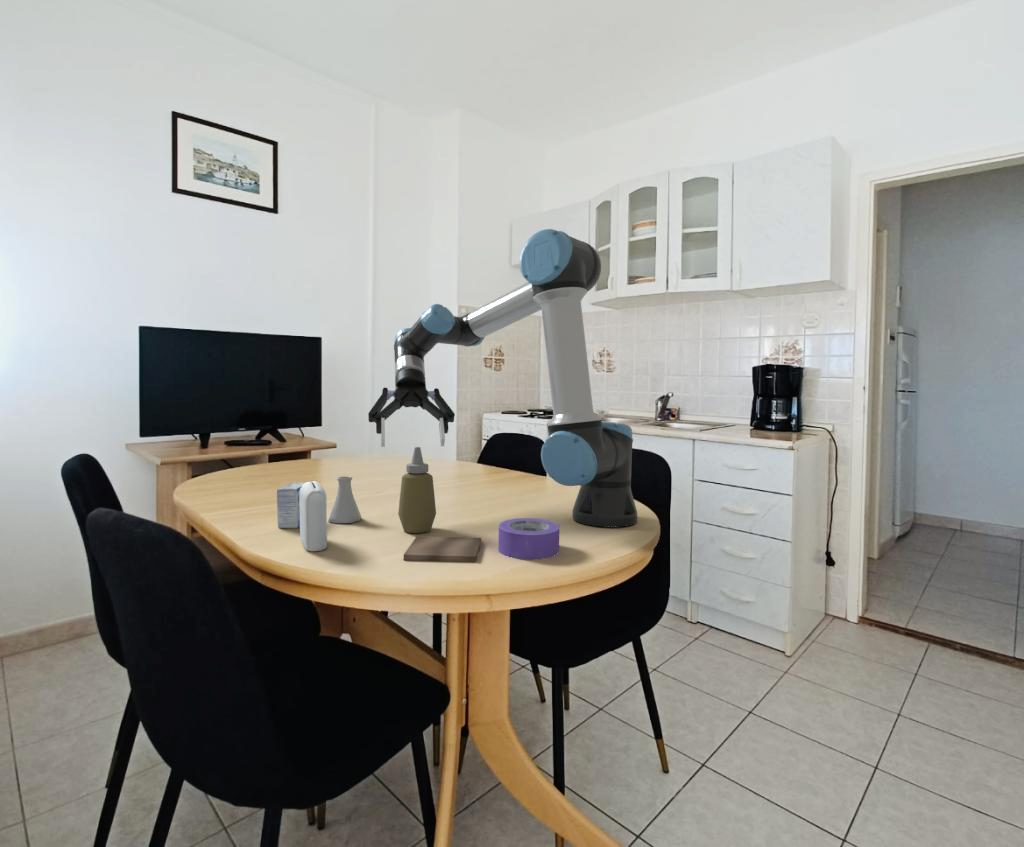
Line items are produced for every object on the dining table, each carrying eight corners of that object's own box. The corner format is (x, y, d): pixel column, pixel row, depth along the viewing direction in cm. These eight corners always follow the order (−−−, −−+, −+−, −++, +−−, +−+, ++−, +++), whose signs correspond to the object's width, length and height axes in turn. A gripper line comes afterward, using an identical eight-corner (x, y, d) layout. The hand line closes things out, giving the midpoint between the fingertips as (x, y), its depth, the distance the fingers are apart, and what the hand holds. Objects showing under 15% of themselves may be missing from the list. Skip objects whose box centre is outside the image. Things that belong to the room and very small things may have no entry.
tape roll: (556, 562, 101) (556, 535, 101) (492, 558, 103) (493, 531, 103) (561, 544, 113) (561, 519, 112) (504, 540, 115) (504, 516, 114)
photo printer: (298, 539, 113) (297, 478, 112) (320, 536, 115) (320, 477, 114) (305, 553, 103) (304, 487, 103) (329, 550, 105) (328, 485, 105)
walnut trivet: (481, 542, 112) (481, 537, 112) (475, 561, 100) (475, 556, 100) (416, 541, 112) (416, 536, 112) (403, 560, 101) (403, 554, 100)
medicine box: (297, 528, 120) (296, 489, 120) (276, 528, 120) (276, 488, 120) (311, 519, 128) (310, 482, 128) (291, 519, 128) (291, 482, 128)
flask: (352, 525, 124) (351, 480, 123) (322, 523, 125) (321, 479, 124) (366, 517, 131) (366, 475, 130) (338, 515, 132) (338, 474, 131)
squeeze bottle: (400, 525, 124) (400, 445, 123) (437, 525, 125) (437, 445, 123) (395, 535, 116) (395, 449, 115) (435, 535, 117) (435, 449, 115)
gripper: (457, 388, 148) (465, 452, 134) (359, 387, 142) (357, 453, 129) (460, 367, 142) (468, 432, 129) (358, 365, 136) (356, 432, 123)
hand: (413, 443), depth 129 cm, fingers open, 13 cm apart
